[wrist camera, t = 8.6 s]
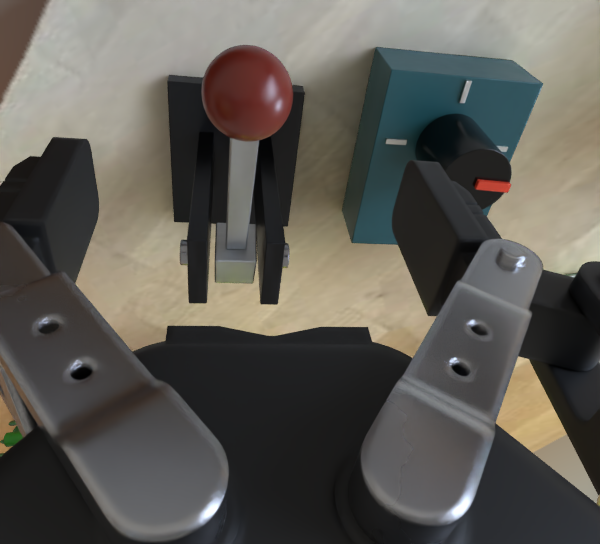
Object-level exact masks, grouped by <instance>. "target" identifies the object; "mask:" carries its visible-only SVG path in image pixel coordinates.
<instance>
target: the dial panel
mask: <svg viewBox="0 0 600 544" xmlns="http://www.w3.org/2000/svg"><path fill="white" fill-rule="evenodd" d="M542 86H543V83H542V82H540V81H539V80H538V79H536V78H535V77H534V76H533V75H531V74H530V73H529V72H527V71H526V70H525V69H523V68H522V67H521V66H519V65H518V64H517V63H516V62H514V61H512V60H502V59H492V58H482V57H472V56H462V55H452V54H442V53H431V52H421V51H411V50H401V49H391V48H381V47H376V48H375V52H374V57H373V62H372V67H371V72H370V76H369V81H368V86H367V91H366V96H365V101H364V106H363V111H362V115H361V120H360V125H359V130H358V135H357V140H356V145H355V150H354V154H353V159H352V164H351V169H350V174H349V179H348V184H347V188H346V193H345V198H344V203H343V208H342V212H343V216H344V219H345V222H346V226H347V229H348V232H349V236H350V239H351V242H352V243H367V244H395V245H398V243H397V241H396V239H395V236H394V234H393V230H392V213H393V209H394V205H395V202H396V198H397V195H398V191H399V187H400V184H401V180H402V177H403V173H404V170H405V167H406V165H407V163H408V162H409V161H411V160H414V161H417V159H416V154H415V149H416V143H417V140H418V138H419V136H420V134H421V133H422V131H423V130H424V129H425V127H426V126H427V125H429V124H430V123H431V122H432V121H434V120H435V119H437V118H439V117H441V116H444V115H447V114H455V113H456V114H464V115H466V116H469V117H470V118H472V119H473V120H474V121H475V122H476V123H477V124H478V125H479V127H480V128H481V129H482V130H483V131H484V132H485V133H486V135H487V136H488V137H489V138H490V139H491V140H492V141H493V143H494V144H495V145H496V146H497V147H498V148H499V149H500V151H501V152H502V153H503V154H504V155H505V156H506V157H507V159H508V160H509V162H510V161H511V158H512V156H513V154H514V151H515V149H516V147H517V144H518V142H519V140H520V137H521V135H522V133H523V130H524V128H525V126H526V123H527V121H528V119H529V116H530V114H531V111H532V109H533V107H534V104H535V102H536V100H537V97H538V95H539V93H540V90H541V88H542ZM490 208H491V205H490V206H489V207H487V208H485V209H483V210H482V211H483V212H484V215H486V216H487V215H488V212H489V210H490Z"/></svg>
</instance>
